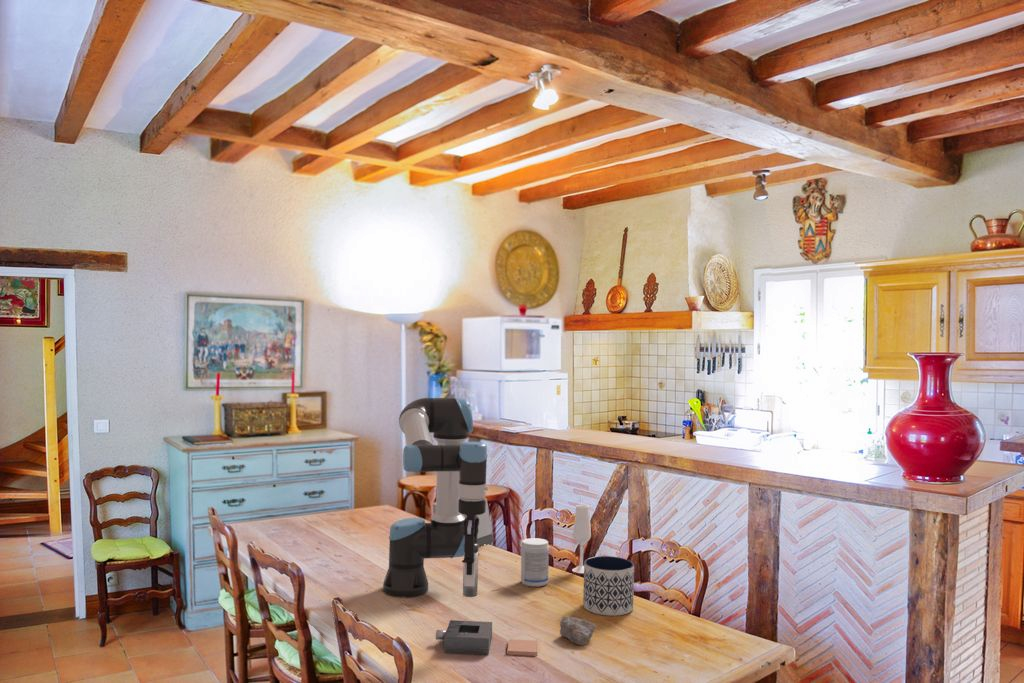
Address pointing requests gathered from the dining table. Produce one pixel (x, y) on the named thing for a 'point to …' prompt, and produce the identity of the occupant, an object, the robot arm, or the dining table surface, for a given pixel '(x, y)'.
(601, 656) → the dining table surface
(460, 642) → the block
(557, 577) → the dining table surface
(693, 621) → the dining table surface
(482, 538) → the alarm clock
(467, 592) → the grey tall cylinder
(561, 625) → the stone
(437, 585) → the dining table surface
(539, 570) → the supplement tub
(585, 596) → the planter
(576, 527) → the champagne flute
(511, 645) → the coaster
